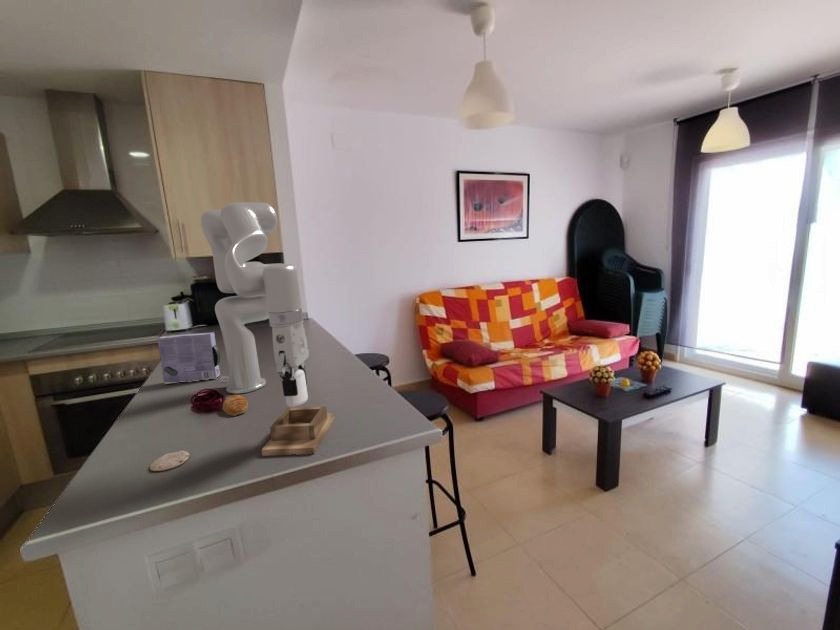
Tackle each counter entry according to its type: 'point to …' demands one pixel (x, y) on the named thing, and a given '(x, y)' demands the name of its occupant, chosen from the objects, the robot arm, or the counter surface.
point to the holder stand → (298, 431)
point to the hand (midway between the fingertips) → (295, 389)
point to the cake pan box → (189, 357)
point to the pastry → (235, 405)
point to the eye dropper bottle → (301, 387)
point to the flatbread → (169, 461)
